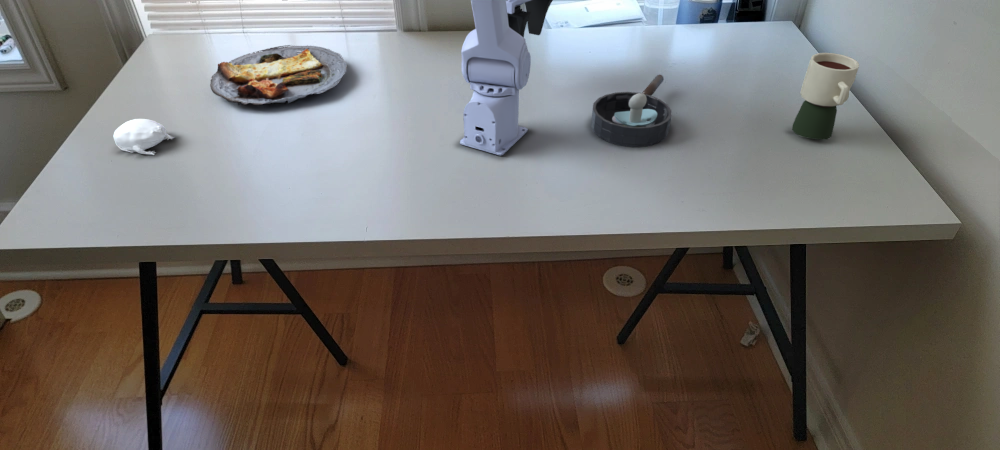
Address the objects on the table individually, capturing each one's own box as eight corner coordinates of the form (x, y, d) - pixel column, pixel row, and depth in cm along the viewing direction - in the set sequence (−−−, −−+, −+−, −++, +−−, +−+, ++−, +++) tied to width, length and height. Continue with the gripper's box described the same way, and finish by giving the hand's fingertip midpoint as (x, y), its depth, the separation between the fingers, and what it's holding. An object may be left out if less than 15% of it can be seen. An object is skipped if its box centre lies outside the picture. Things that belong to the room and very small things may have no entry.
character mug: (846, 150, 105) (875, 75, 97) (803, 151, 105) (828, 76, 97) (816, 118, 114) (840, 47, 106) (777, 119, 114) (797, 48, 106)
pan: (654, 154, 104) (657, 135, 102) (579, 135, 109) (580, 116, 107) (677, 120, 113) (681, 102, 111) (607, 103, 118) (609, 85, 116)
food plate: (218, 122, 112) (213, 103, 110) (207, 70, 129) (202, 53, 127) (360, 95, 120) (358, 77, 118) (332, 49, 137) (330, 33, 135)
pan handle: (646, 104, 114) (647, 96, 113) (637, 102, 114) (638, 94, 113) (664, 82, 121) (665, 74, 120) (655, 80, 121) (657, 72, 120)
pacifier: (605, 118, 113) (618, 134, 108) (608, 84, 109) (622, 99, 105) (644, 113, 114) (659, 129, 110) (649, 80, 111) (664, 94, 106)
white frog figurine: (179, 136, 108) (172, 116, 106) (154, 157, 103) (146, 136, 101) (137, 131, 110) (129, 111, 107) (110, 151, 104) (101, 131, 102)
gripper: (529, -23, 102) (527, 59, 110) (567, -45, 112) (562, 31, 121) (490, -29, 105) (490, 51, 113) (530, -51, 115) (528, 25, 123)
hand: (525, 41), depth 117 cm, fingers open, 7 cm apart
